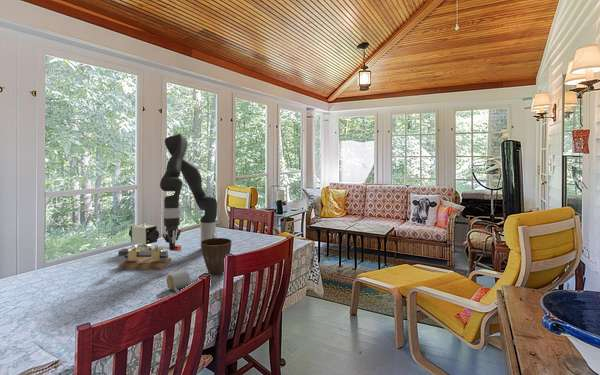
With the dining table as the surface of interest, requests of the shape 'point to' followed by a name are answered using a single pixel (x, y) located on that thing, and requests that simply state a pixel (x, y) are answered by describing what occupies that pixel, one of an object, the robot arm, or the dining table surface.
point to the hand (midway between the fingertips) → (172, 249)
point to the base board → (144, 264)
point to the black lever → (126, 250)
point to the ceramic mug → (178, 280)
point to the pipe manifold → (146, 255)
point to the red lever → (177, 247)
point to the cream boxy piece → (144, 235)
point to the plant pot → (215, 254)
